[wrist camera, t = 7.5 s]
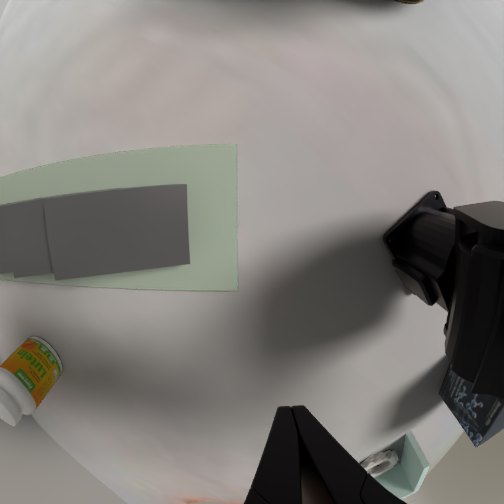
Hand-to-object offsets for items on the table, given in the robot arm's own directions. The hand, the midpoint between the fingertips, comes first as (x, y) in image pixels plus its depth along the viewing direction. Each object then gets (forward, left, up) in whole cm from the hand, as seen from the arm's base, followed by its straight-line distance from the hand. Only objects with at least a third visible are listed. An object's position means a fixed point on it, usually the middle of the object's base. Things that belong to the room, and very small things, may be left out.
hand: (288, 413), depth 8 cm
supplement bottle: (+24, -7, -13) cm, 28 cm away
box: (-11, +26, -13) cm, 31 cm away
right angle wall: (+7, +36, -13) cm, 39 cm away
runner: (+10, -14, -13) cm, 21 cm away
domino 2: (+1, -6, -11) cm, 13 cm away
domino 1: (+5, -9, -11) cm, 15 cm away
